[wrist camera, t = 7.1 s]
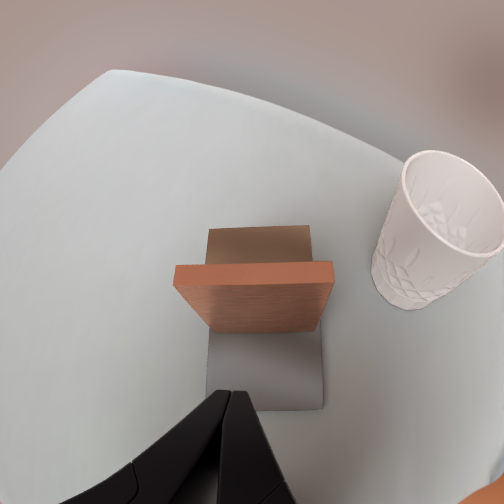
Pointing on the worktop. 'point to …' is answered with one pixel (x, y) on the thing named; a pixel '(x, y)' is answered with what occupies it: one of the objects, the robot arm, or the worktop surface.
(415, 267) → the white cup
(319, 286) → the copper wooden slab
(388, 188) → the worktop surface
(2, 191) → the worktop surface
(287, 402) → the bearing block
